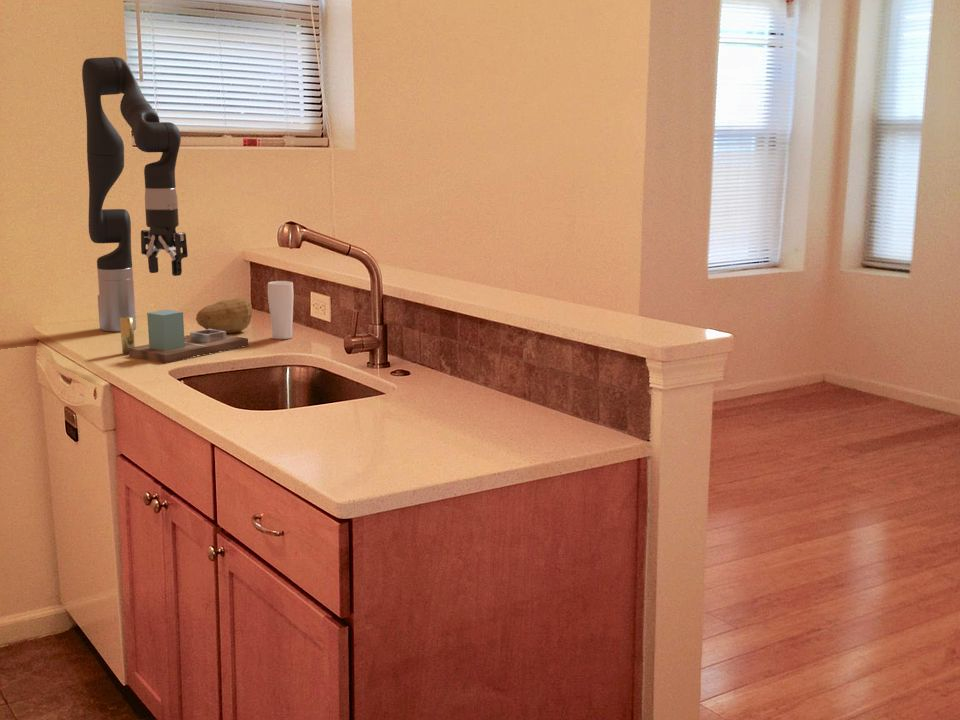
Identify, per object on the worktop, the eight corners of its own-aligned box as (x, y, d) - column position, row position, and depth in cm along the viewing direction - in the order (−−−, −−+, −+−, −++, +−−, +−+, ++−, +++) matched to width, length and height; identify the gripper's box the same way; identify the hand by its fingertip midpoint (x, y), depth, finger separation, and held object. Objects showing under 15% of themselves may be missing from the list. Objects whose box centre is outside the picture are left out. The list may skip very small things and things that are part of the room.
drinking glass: (298, 336, 292) (296, 281, 289) (291, 340, 285) (289, 284, 282) (273, 335, 293) (271, 280, 289) (266, 340, 286) (264, 284, 283)
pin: (119, 353, 268) (117, 318, 267) (130, 351, 271) (127, 316, 269) (127, 355, 267) (125, 319, 265) (137, 353, 269) (135, 317, 267)
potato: (193, 332, 296) (191, 299, 294) (249, 328, 303) (247, 295, 301) (200, 338, 289) (198, 303, 287) (257, 333, 296) (256, 299, 294)
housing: (149, 348, 265) (147, 312, 263) (169, 344, 270) (167, 309, 268) (165, 351, 262) (162, 315, 260) (184, 347, 266) (182, 312, 265)
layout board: (129, 356, 266) (127, 324, 264) (212, 339, 286) (210, 310, 284) (166, 363, 258) (164, 330, 256) (248, 346, 278) (247, 315, 276)
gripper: (129, 206, 260) (133, 273, 263) (168, 209, 252) (172, 278, 255) (155, 205, 266) (158, 270, 269) (193, 207, 258) (197, 274, 261)
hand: (165, 274), depth 262 cm, fingers open, 8 cm apart
